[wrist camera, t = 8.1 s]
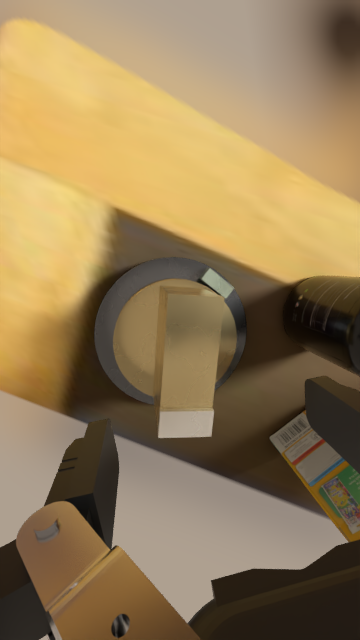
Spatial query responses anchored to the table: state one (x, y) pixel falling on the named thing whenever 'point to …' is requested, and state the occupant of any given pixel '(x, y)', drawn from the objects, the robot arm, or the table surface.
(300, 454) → the crayon box
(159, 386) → the knob
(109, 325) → the base
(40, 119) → the table surface
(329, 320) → the supplement bottle
